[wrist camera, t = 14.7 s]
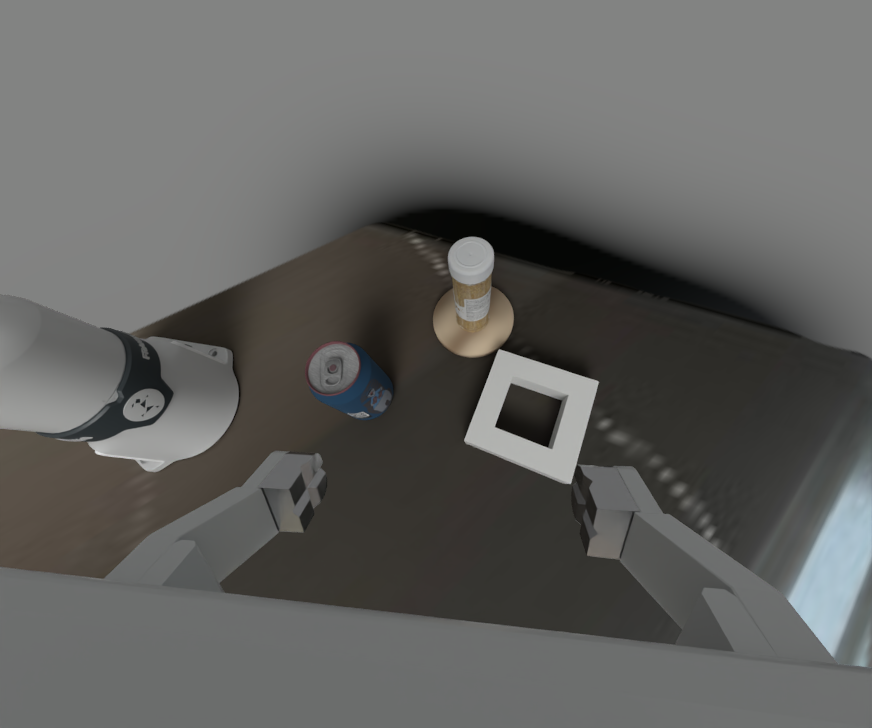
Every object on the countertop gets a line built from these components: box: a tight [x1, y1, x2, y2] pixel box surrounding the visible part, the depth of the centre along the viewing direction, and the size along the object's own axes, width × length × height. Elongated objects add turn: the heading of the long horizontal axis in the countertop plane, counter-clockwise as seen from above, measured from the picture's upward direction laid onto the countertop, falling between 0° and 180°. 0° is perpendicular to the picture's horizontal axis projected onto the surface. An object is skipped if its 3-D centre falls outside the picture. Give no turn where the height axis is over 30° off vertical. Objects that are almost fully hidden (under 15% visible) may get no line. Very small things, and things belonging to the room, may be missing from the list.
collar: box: [464, 349, 599, 484], centre depth 38 cm, size 12×12×3 cm
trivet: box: [433, 286, 514, 358], centre depth 44 cm, size 11×11×1 cm
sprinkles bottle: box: [448, 237, 494, 332], centre depth 37 cm, size 5×5×14 cm
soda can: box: [305, 341, 393, 420], centre depth 37 cm, size 7×7×12 cm
